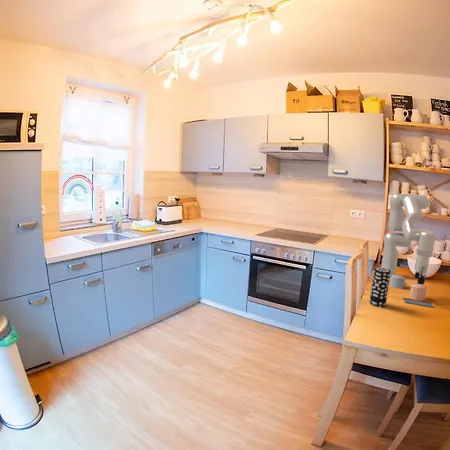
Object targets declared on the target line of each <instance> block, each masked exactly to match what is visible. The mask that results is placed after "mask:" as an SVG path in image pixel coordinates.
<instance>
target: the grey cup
mask: <svg viewBox="0 0 450 450" xmlns="http://www.w3.org/2000/svg"><path fill="white" fill-rule="evenodd" d="M405 280H406V277H405V276H404V275H400V274H396V275H391V277H390V280H389V286H390V287H392V288H394V289H404V287H405V285H404V282H406V281H405Z"/></svg>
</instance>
